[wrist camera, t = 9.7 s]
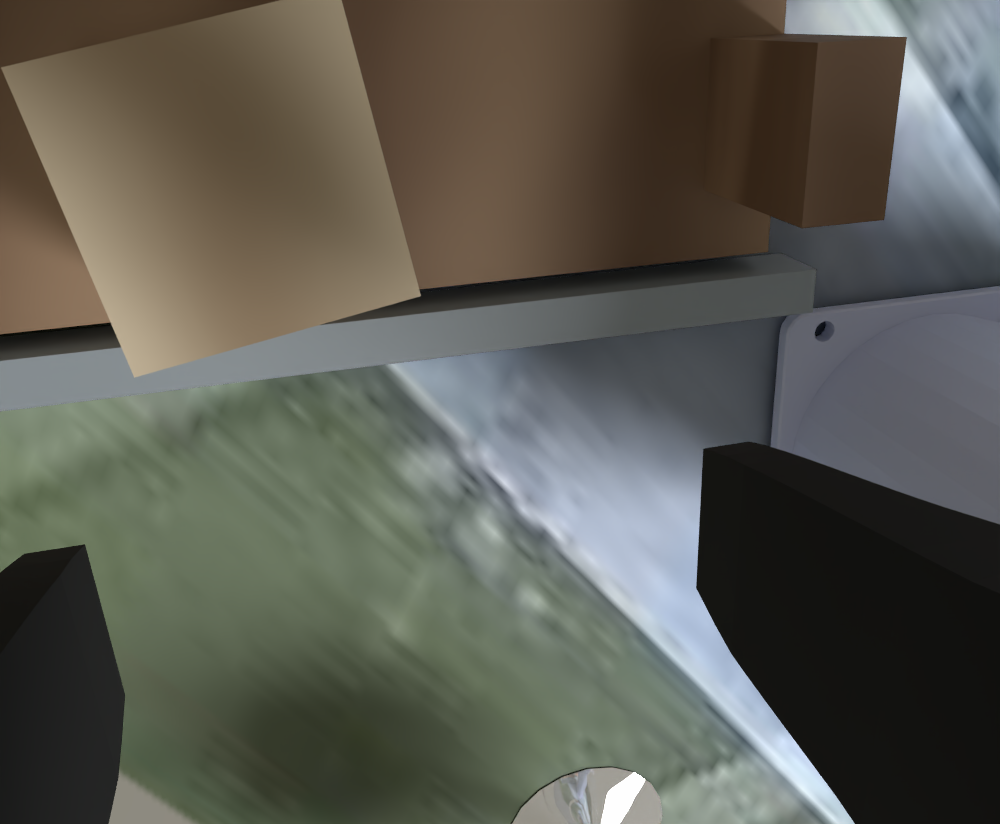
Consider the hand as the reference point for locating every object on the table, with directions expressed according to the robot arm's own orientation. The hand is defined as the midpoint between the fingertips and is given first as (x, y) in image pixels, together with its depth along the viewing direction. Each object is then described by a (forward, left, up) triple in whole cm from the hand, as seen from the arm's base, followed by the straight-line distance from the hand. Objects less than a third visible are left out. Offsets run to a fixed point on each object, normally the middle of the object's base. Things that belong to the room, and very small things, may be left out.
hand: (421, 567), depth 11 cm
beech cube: (+2, -4, -9) cm, 10 cm away
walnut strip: (-1, -4, -10) cm, 11 cm away
